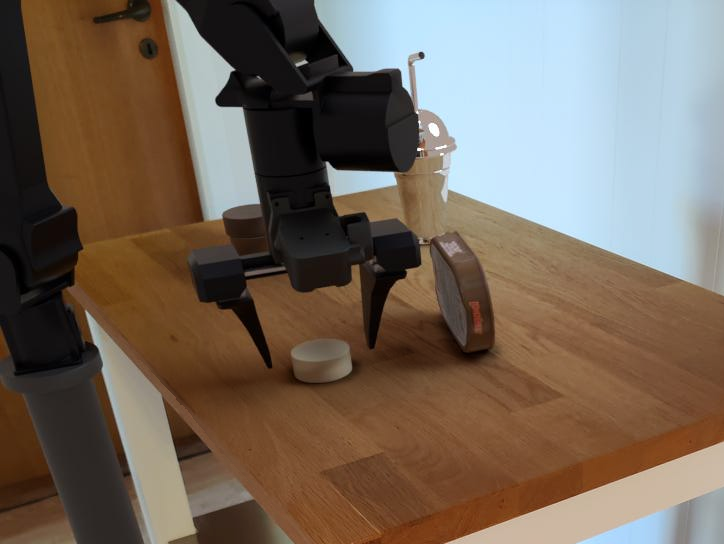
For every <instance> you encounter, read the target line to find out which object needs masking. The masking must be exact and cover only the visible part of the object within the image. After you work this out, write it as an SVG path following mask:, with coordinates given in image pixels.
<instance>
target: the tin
mask: <svg viewBox="0 0 724 544" xmlns="http://www.w3.org/2000/svg"><path fill="white" fill-rule="evenodd" d="M429 254H430V258H431V262H432V268H433V269H432V270H433V274H434V290H435V295H436V299H437V304H438V307H439V310H440V313H441V315H442V319H443V321H444V322H445V324H446V326H447V328H448V329H449V331H450V333H451V335H452V336H453V338H454V340H455V341H456V343H457V344H458V346H459V347H460V349H461V351H462V352H464V353H466V354H470V353H475V352H481V351H485V350H493V349H494V347H495V344H496V323H495V322H496V321H495V313H494V308H493V306H494V305H493V301H492V296H491V292H490V287H489V281H488V278H487V275H486V272H485V270H484V266H483V264H482V262H481V260H480V258H479V256H478V254H477V253H476V252H475V251H474V250H473V248H472V247H471V246H470V244H469V243H468V241H466V239H465V238H464V237H463V236H462V234H461V233H460V231H458V230H454V231H453V232H450V233H449V232H448V233H445V234H444V235H439V236H435V237H433V238H432V239H431V241H430V244H429Z"/></svg>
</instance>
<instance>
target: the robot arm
mask: <svg viewBox="0 0 724 544" xmlns="http://www.w3.org/2000/svg"><path fill="white" fill-rule="evenodd" d="M174 1H175V2H176V3H177V4H178V5H179V6H180V7H181V8H182V9H183V10H184V11H185V12H186V13H187V14H188V15H187V16H188V17H189V19H190V20H191V22H192V24H193V25H194V28H195V30H196V31H197V33H198V35H199V36H200V37H201V39H203V40H204V41H205V43H207V44H208V46H210V47H211V48H212V49H213V51H215V52H216V53H217V54H218V55H219V56H220V57H221V58H222V59H223V60H224V61H225V62H226V63H227V64H228V65H229V66H230V67H231V68H232V69H233V70H231V71H230V73H229V75H228V76H229V77H228V80H227V81H226V83H225V85H224V86H223V87H222V89H221V90H220V91H219V93H218V94H217V95H216V96H215V98H214V102H215V105H216V106H217V107H219V108H242V113H243V117H244V123H245V130H246V134H247V140H248V145H249V150H250V156H251V162H252V168H253V173H254V179H255V184H256V190H257V194H258V201H259V204H260V206H261V212H262V217H263V223H264V228H265V234H266V239H267V245H268V250H269V251H268V252H262V253H255V254H249V255H243V256H239V255H238V253H237V251H236V249H235V248H234V246H233V244H231V243H227V244H222V245H215V246H208V247H203V248H197V249H196V248H195V249H191V251H190V253H189V255H188V256H187V258H186V260H187V266H188V271H189V274H190V280H191V283H192V286H193V288H194V291H195V294H196V296H197V299H198V301H199V303H204V304H211V303H215V305H216V307H217V309H219V310H223V311H225V310H231V311H232V312H233V314H234V315H235V316H236V317H237V318H238V320H239V321H240V322H241V323H242V325H243V327H244V328H245V329H246V331H247V332H248V334H249V336H250V337H251V340H252V341H253V343H254V345H255V347H256V349H257V351H258V353H259V355H260V356H261V358H262V360H263V362H264V364H265V365H266V368H267V369H268V370H272V369H273V361H272V355H271V351H270V349H269V344H268V342H267V339H266V336H265V333H264V330H263V327H262V324H261V322H260V318H259V315H258V312H257V307H256V304H255V301H254V298H253V296H252V294H251V293H250V290H249V289H248V283H247V281H249V280H256V279H263V278H268V277H274V276H280V275H281V276H282V275H286V274H287V276H288V278H289V283H290V285H291V288H292V289H293V290H294V291H295V292H298V293H303V294H305V293H312V292H314V290H317V289H323V288H329V287H336V288H341V287H345V286H348V285H349V284H351V282H352V280H353V274H352V266H358V269H359V270H358V271H359V283H360V292H361V293H360V294H361V308H362V310H361V311H362V321H363V322H362V323H363V333H364V337H365V341H366V346H367V348H368V350H370V351H373V350H375V348H376V343H377V339H378V334H379V329H380V325H381V321H382V316H383V312H384V308H385V305H386V302H387V299H388V297H389V294H390V291H391V289H392V288H393V287H394V285H395V284H396V283H397V282H398V281H401V280H404V279H406V278H407V277H408V271H407V270H412V269H418V268H419V267H421V266H422V263H423V262H422V252H421V244H419V240H418V237H417V235H415V234H414V233H413V232H412V231H411V230H410V229H409V228H408V227H407V226H406V225H405V223H404V222H402V221H401V220H400V219H399V218H398V217H395V218H387V219H382V220H376V221H370V219H369V217H368V215H367V212H365V211H362V212H355V213H348V214H343V215H339V214H338V211H337V210H336V207H335V205H334V201H333V194H332V191H331V185H330V181H329V173H328V172H329V171H328V165H327V163H328V164H329V165H330V166H331V167H332V169H334V170H335V171H342V172H343V171H346V172H347V171H348V172H349V171H350V172H377V173H379V172H381V173H393V172H408V171H409V170H410V169H411V168H412V166H413V164H414V162H415V159H416V155H417V151H418V145H419V119H418V113H415V109H414V105H413V102H412V99H411V94H410V93H409V91H408V90H407V89H406V88H405V87H404V86H403V77H402V76H403V75H402V71H401V69H400V68H398V67H397V68H395V67H394V68H393V67H391V68H382V69H378V70H375V71H373V70H372V71H354V67H353V65H352V64H351V62H350V61H349V59H348V58H347V57H346V55H345V53H344V52H343V50H341V48H340V46H339V45H338V44H337V43H336V41H335V40H334V39H333V37H332V35H331V34H330V33H329V31H328V30H327V28H326V27H325V26H324V24H323V23H322V22H321V20H320V19H319V16H318V13H317V9H316V6H315V0H174ZM23 17H24V16H23V11H22V0H0V330H1V333H2V335H3V338H4V339H3V340H4V342H5V343H6V347H7V350H8V352H9V355H11V358H12V361H13V373H14V375H15V376H19V375H25V374H30V373H36V372H41V371H47V370H53V369H58V368H64V367H69V366H75V365H80V364H82V363H83V358H82V352H84V351H85V342H84V341H85V339H84V335H83V332H82V329H81V326H80V323H79V320H78V319H79V318H78V316H77V313H76V309H75V306H74V304H72V303H71V302H68V303H67V302H66V298H65V295H64V292H63V290H65V289H68V288H72V287H73V286H75V284H76V277H75V276H76V273H75V272H76V270H75V268H76V267H75V266H77V265H78V262H79V252H81V251H84V245H83V244H82V241H81V238H80V235H79V229H78V227H79V226H78V225H79V222H78V221H79V215H78V212H77V210H76V208H75V207H74V206H68V205H63V204H62V202H61V201H60V199H59V198H58V197H57V196H56V194H55V193H54V191H53V190H52V189H51V187H50V185H49V182H48V176H47V170H46V163H45V158H44V157H45V156H44V151H43V144H42V143H43V142H42V136H41V131H40V122H39V117H38V112H37V111H38V110H37V104H36V97H35V96H36V95H35V90H34V89H35V88H34V82H33V77H32V70H31V64H30V57H29V51H28V42H27V36H26V30H25V24H24V18H23ZM304 61H305V62H306V63H303V64H300V63H302V62H304ZM296 64H300V65H296Z"/></svg>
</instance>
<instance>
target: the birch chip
mask: <svg viewBox="0 0 724 544" xmlns="http://www.w3.org/2000/svg"><path fill="white" fill-rule="evenodd" d="M290 358H291V364H292V370H293V374H294V377H295V378H296V379H297V380H299V381H301V382H304V383H310V384H323V383H329V382H334V381H338V380H341V379H342V378H344V377H347V376H348V375H350V373H351V372H352V371H353V363H352V362H353V361H352V356H351V349H350V345H349V343H347V342H346V341H345V340H341V339H336V338H318V339H312V340H308V341H305V342H302V343H299V344H298V345H295V346H294V347H293V348H291V351H290Z"/></svg>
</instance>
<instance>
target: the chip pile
mask: <svg viewBox="0 0 724 544" xmlns="http://www.w3.org/2000/svg"><path fill="white" fill-rule="evenodd" d="M221 217H222V222H223V227H224V231H225V234H226V235H227V236H228V237H229V241H230V244H233V246H234V248H235V249H236V251H237V253H238V255H239V256H243V255H249V254H255V253H262V252H268V251H269V250H268V245H267V239H266V234H265V228H264V223H263V217H262V212H261V206H260V203H250V204H243V205H237V206H233V207H231V208H228V209H226V210H224V211H223V212H222V213H221Z"/></svg>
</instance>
